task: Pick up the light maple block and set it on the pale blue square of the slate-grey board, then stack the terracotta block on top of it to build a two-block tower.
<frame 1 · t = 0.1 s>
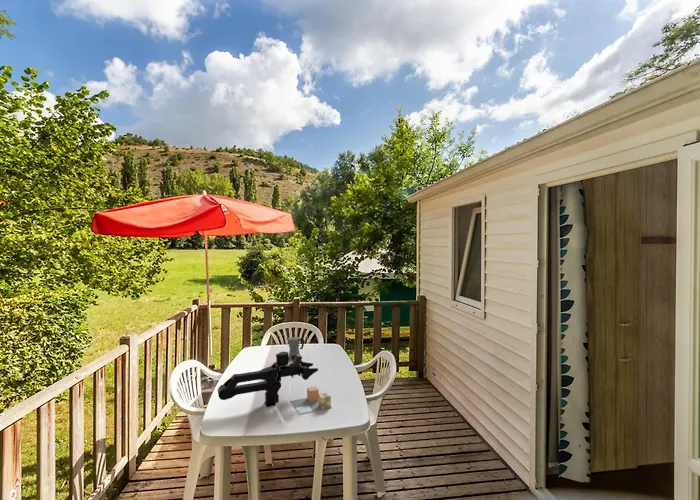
hand: (315, 366, 211), 17 cm above the table, tool horizontal, fingers open, 9 cm apart
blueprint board: (310, 406, 198), on the table
coffeepot: (295, 358, 280), on the table
terracotta block: (312, 399, 204), point 1 cm above the table, touching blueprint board
maple block: (324, 406, 196), point 1 cm above the table, touching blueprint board
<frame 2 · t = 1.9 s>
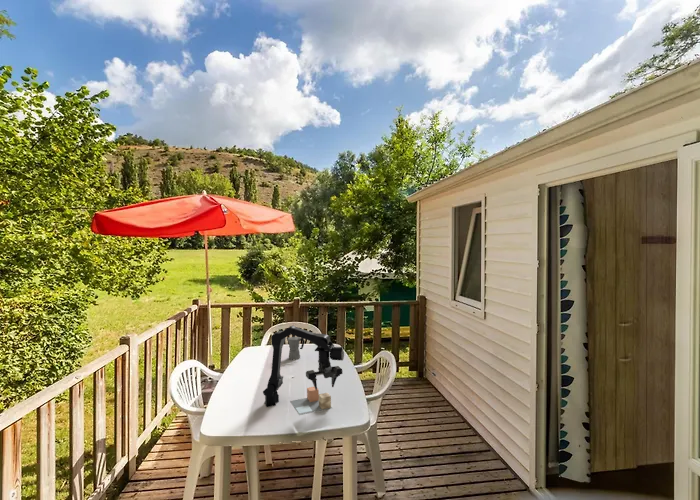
hand: (324, 388, 195), 10 cm above the table, tool pointing down, fingers open, 9 cm apart
nothing on the table moved.
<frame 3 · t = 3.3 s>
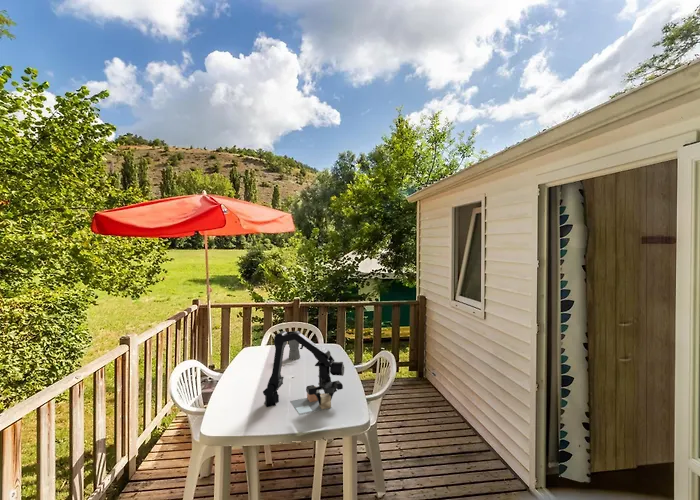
hand: (324, 403, 196), 3 cm above the table, tool pointing down, fingers closed on maple block, 5 cm apart
maple block: (324, 406, 196), point 1 cm above the table, touching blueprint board, gripper
everything else where it was.
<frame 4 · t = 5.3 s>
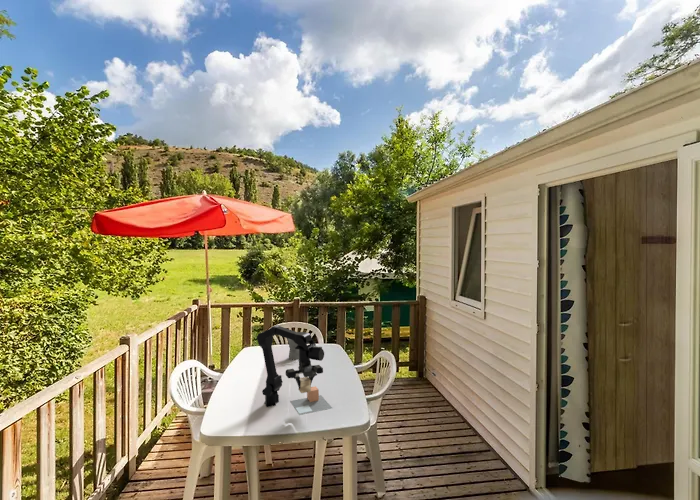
hand: (304, 387, 193), 12 cm above the table, tool pointing down, fingers closed on maple block, 5 cm apart
maple block: (304, 390, 193), point 11 cm above the table, touching gripper
everything else where it was.
when the fingers open (4 cm above the table, at t = 7.3 s): maple block drops 1 cm, resting on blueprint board.
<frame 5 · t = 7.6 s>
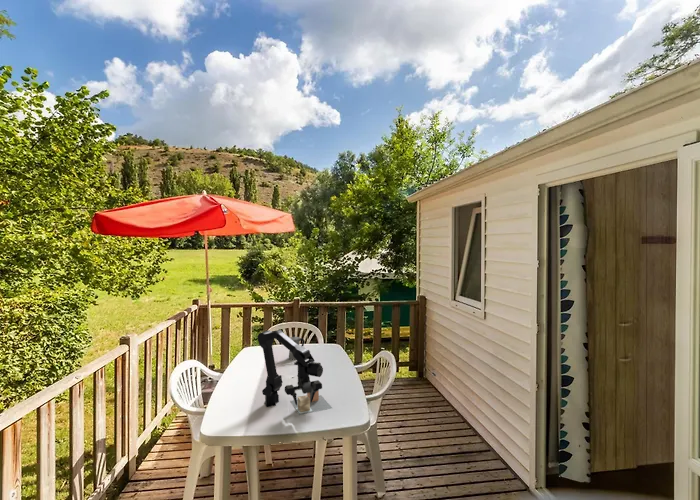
hand: (303, 403, 192), 4 cm above the table, tool pointing down, fingers open, 8 cm apart
maple block: (303, 409, 192), point 1 cm above the table, touching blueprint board
everything else where it was.
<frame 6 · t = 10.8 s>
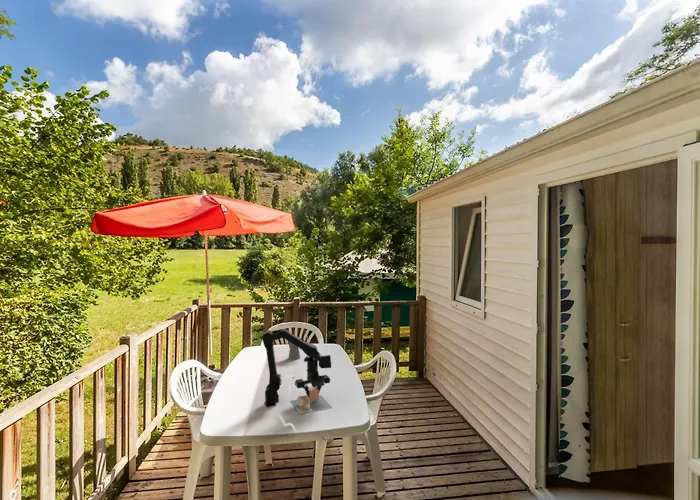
hand: (312, 396, 204), 3 cm above the table, tool pointing down, fingers closed on terracotta block, 5 cm apart
terracotta block: (312, 399, 204), point 1 cm above the table, touching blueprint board, gripper
everything else where it was.
when the fingers open (10 cm above the table, at t = 13.9 s): terracotta block drops 1 cm, resting on maple block.
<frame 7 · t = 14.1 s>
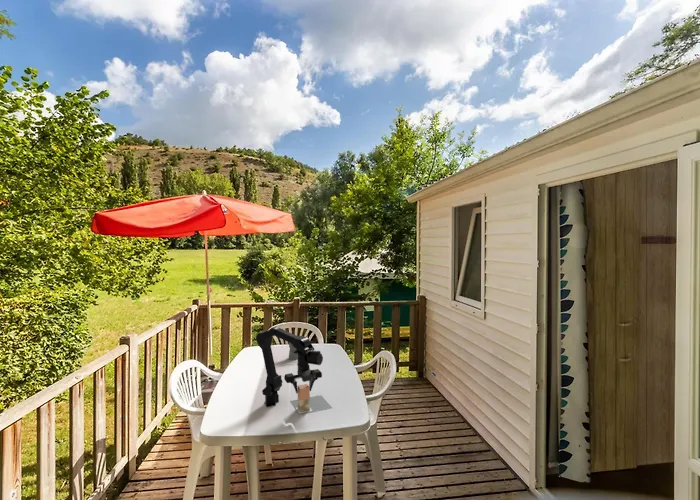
hand: (303, 392, 192), 10 cm above the table, tool pointing down, fingers open, 7 cm apart
terracotta block: (303, 397, 192), point 7 cm above the table, touching maple block
maple block: (303, 409, 192), point 1 cm above the table, touching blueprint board, terracotta block
everything else where it was.
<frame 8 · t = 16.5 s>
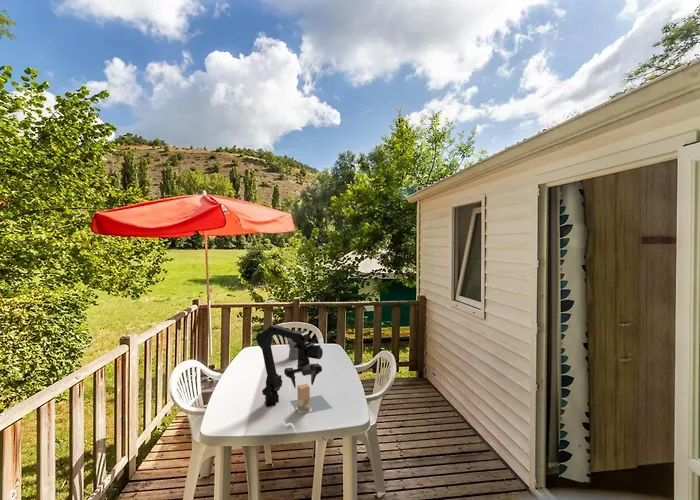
hand: (303, 386, 192), 13 cm above the table, tool pointing down, fingers open, 9 cm apart
nothing on the table moved.
at the end: maple block 0.0 cm from the target spot, point 1.0 cm above the table; terracotta block 0.0 cm off-centre on the maple block, point 6.0 cm above the maple block's base; terracotta block tilted 0° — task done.
